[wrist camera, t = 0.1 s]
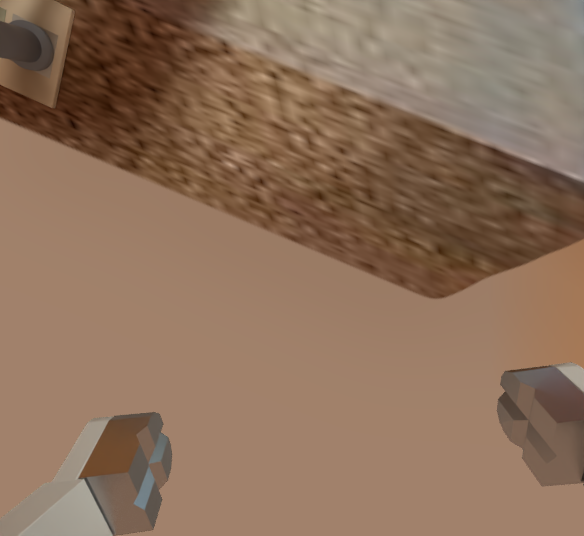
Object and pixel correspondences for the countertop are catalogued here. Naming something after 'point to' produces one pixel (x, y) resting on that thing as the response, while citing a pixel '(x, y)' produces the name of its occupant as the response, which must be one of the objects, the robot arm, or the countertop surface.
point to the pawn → (26, 45)
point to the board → (57, 24)
